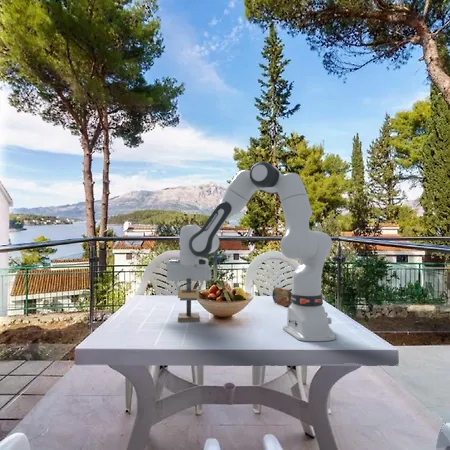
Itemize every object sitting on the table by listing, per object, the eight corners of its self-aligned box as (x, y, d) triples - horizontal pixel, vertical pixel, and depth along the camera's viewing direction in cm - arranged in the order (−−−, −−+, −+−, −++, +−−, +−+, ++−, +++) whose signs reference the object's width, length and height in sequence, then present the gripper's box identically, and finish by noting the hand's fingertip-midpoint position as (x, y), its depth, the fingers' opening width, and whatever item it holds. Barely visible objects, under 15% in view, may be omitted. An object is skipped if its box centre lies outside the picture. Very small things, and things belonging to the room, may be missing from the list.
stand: (199, 321, 163) (199, 280, 162) (177, 321, 162) (177, 280, 162) (199, 315, 172) (199, 277, 171) (178, 316, 171) (178, 277, 171)
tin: (271, 302, 200) (271, 286, 200) (276, 301, 202) (277, 285, 202) (288, 308, 187) (288, 291, 187) (293, 307, 188) (293, 290, 188)
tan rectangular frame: (199, 297, 163) (199, 293, 163) (177, 298, 162) (177, 293, 162) (199, 291, 177) (199, 287, 177) (179, 291, 176) (179, 287, 176)
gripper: (165, 261, 170) (165, 291, 170) (211, 260, 171) (211, 291, 172) (166, 259, 176) (166, 289, 176) (211, 259, 177) (210, 288, 178)
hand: (189, 290), depth 174 cm, fingers open, 8 cm apart
